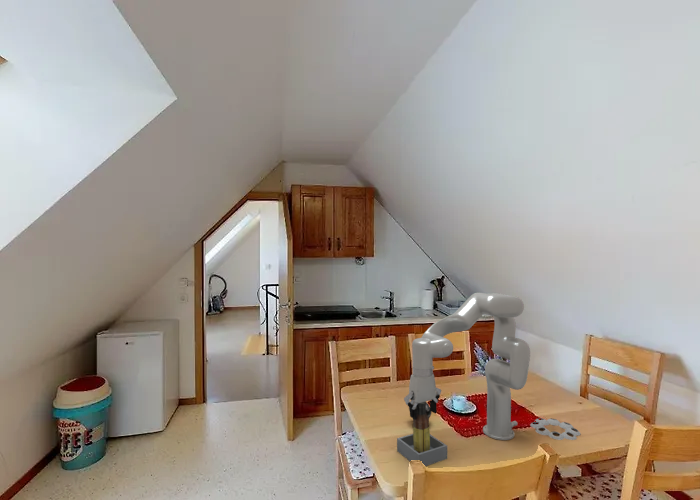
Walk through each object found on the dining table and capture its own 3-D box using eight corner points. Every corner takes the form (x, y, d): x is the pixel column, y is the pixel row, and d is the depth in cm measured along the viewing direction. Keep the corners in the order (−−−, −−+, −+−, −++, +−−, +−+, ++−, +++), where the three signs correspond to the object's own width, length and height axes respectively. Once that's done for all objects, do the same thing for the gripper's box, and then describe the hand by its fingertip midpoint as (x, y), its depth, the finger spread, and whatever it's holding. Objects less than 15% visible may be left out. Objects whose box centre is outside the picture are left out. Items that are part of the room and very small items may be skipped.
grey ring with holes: (520, 423, 179) (520, 419, 179) (553, 417, 186) (553, 413, 186) (556, 445, 160) (556, 440, 160) (591, 436, 167) (591, 432, 167)
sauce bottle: (427, 447, 155) (428, 397, 155) (431, 456, 149) (432, 404, 148) (411, 448, 155) (411, 397, 154) (414, 456, 149) (414, 404, 148)
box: (424, 442, 161) (424, 430, 161) (447, 458, 149) (447, 445, 149) (396, 450, 155) (397, 438, 154) (418, 468, 143) (418, 454, 143)
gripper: (433, 364, 159) (434, 406, 159) (398, 372, 150) (399, 416, 151) (446, 369, 152) (447, 413, 153) (410, 378, 144) (411, 424, 144)
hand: (423, 415), depth 152 cm, fingers open, 9 cm apart
